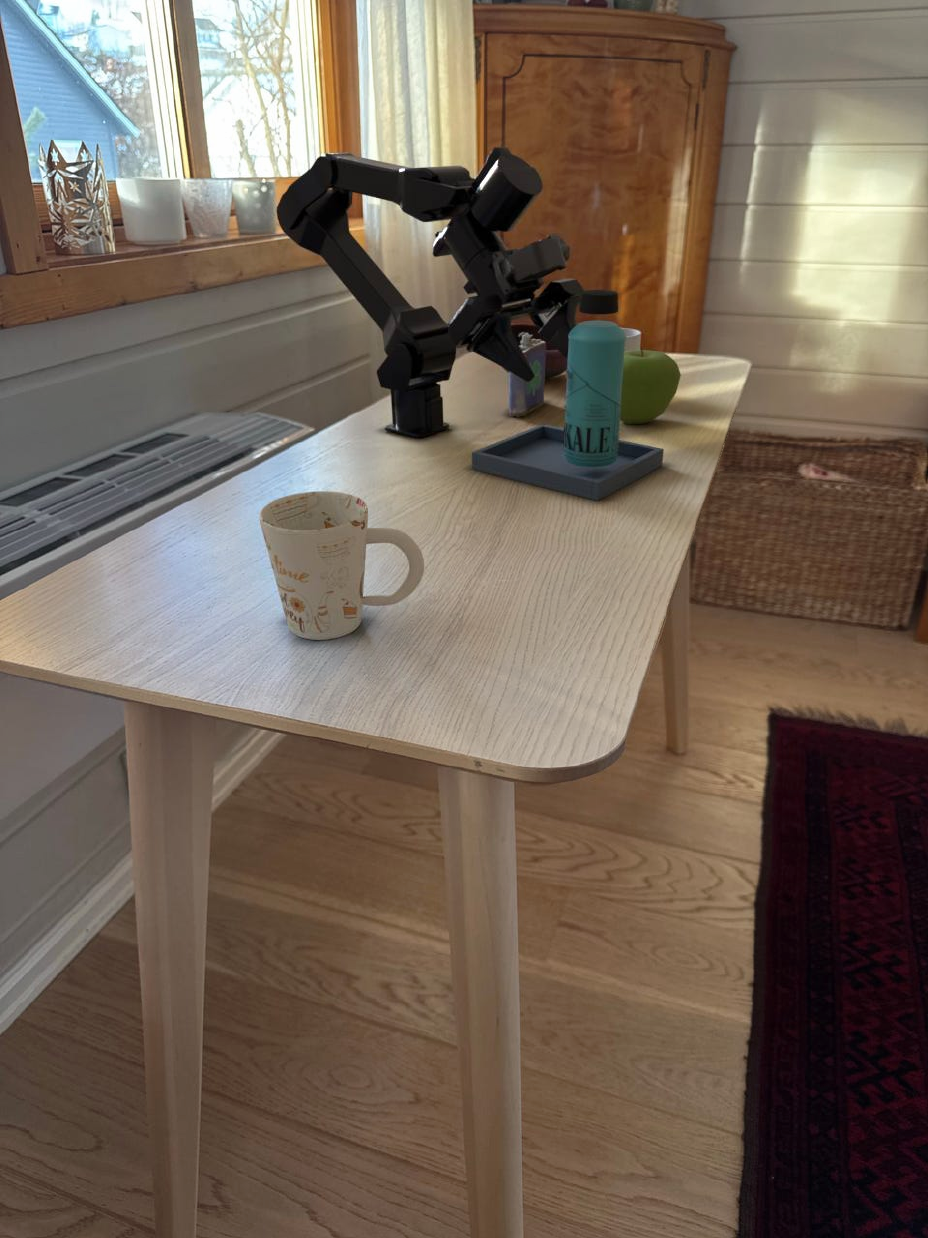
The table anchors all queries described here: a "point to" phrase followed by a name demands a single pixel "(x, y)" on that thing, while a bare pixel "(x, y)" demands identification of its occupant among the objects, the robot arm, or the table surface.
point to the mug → (328, 561)
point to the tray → (563, 463)
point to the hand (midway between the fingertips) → (557, 371)
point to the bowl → (554, 358)
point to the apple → (647, 385)
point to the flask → (532, 392)
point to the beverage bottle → (594, 384)
